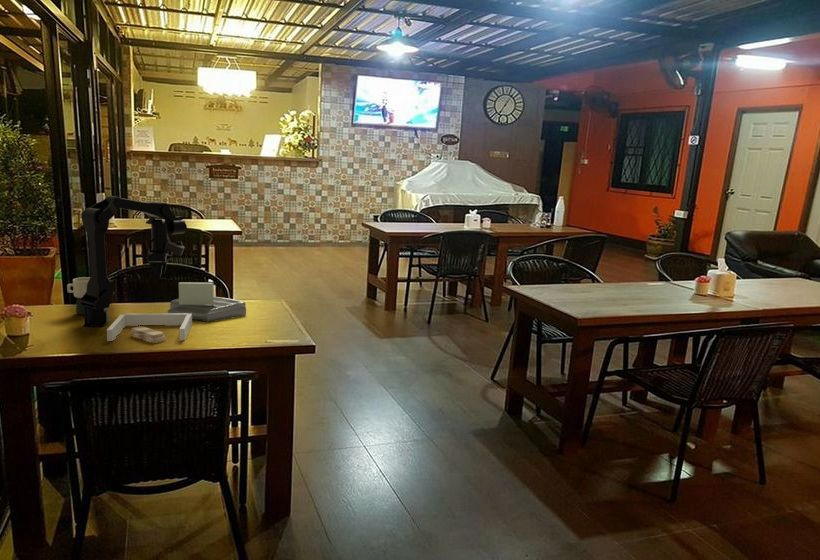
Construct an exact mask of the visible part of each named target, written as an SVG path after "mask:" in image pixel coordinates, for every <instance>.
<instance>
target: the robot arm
mask: <svg viewBox="0 0 820 560" xmlns="http://www.w3.org/2000/svg"><path fill="white" fill-rule="evenodd" d="M119 209H121V210H122V209H123V210H128V211H134V212H140V213H143V214H145V215H147V216H150V217H149V219H148V220H146V221H145V224H147V225H150V228H151V232H150V233H151V238H150V242H151V249H150V253H149V254H147V256H146V262H147V263H148V264H149V266H150V268H151V270H152V271H153V273H154V275H155V277H156V279H158V280H160V279H161V278H162V277H161V276H162V275H165V273H166V270H167V266H168V265H167V264H168V261H169V259H171V257H172V256H173V254H174V255H176V256H179V257H180V256H182V255H183V253H184V250H185V248H186V247H185V246H184V245H183V242H182V241H180V240H177V242H176V243H175V242H172V241H171V238H170V237H169V235H172V236H173V235H178V234H179V235H180V234H181V235H182V234H185V233H186V232H187V230H188V225H187V223H186V221H185V220H184V219H183V218H184V217H183V215H176V216H175V214H174V213H173V211H172V210H171V207H170V205H169V204H168V203H167V202H161V201H140V200H136V199H135V200H134V199H130V198H129V199H128V198H124V197H123V198H122V197H120V196H115V195H109V196H106V197H105V198H104V199H102V200H101V201H99V202H96V203H95V204H92V205H91V206H90V207H87V208H85V209H84V210H83V211H82V212H81V215H80V218H81V222H82V225H83V228H84V230H85V231H86V233H87V237H88V247H89V248H88V250H89V252H88V253H89V265H90V266H89V267H90V268H89V269H90V279H89V281H88V283H87V290H86V293H85V294H84V295H83V297H82V298H81V299H80V300H79V302H80V304H81V306H85V307H84V314H83V315H84V323H83V327H104V326H106V324H108V322H109V321H110V319H109V310H108V308H109V307H110V304H111V302H112V299H113V298H114V295H115V293H116V290H115V281H114V280H111V279H109V277H108V271H107V269H108V268H107V256H106V255H107V253H106V238H105V237H106V233H107V231H108V229H109V225H110V224H109V222H110V220H111V219H112V218H113V217H114V216H115V215H116V214H117V212H118V210H119Z"/></svg>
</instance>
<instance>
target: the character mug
mask: <svg viewBox="0 0 820 560" xmlns="http://www.w3.org/2000/svg"><path fill="white" fill-rule="evenodd" d="M90 277H91V276H90ZM90 277H89V276H88V277H86V276H82V277H76V278H73V279H72V283H68V284H67V285H66V290H67V293H69V294H73V297H75V298H76V305H75V313H76V314H79V315H84V307H85V306H81V304H80V302H79V300H80V299H81V298H82V297H83V295H84V294H85V293H86V290H87V283H88V281H89V279H90ZM71 287H72V289H73V290H72V289H71Z"/></svg>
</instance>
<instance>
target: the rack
mask: <svg viewBox="0 0 820 560" xmlns="http://www.w3.org/2000/svg"><path fill="white" fill-rule="evenodd" d="M138 325H139V326H140V325H165V326H180V327H179V341H180V342H184V341H183V340H185V341H186V339H187V337H188V335H189V332H190V330H191V328H192V326H191V325H193V320H192V313H168V312H166V313H165V312H164V313H163V312H162V313H161V312H160V313H159V312H158V313H153V312H152V313H149V312H148V313H144V312H143V313H121V314H120V315H119V316H118V317H117V318H116V319H115V320H114V321H113V322H112V323H111V325H110V326H108V328H107V329H106V341H113V340H114V341H115V340H116V338H117V337H118V336H119V335H118V334H121V332H122V331H124V329H125V327H135V326H136V327H139V326H138ZM123 328H124V329H123ZM187 334H188V335H187ZM117 335H118V336H117ZM116 336H117V337H116ZM186 336H187V337H186ZM114 341H113V342H114Z"/></svg>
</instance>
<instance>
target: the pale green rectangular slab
mask: <svg viewBox="0 0 820 560" xmlns="http://www.w3.org/2000/svg"><path fill="white" fill-rule="evenodd" d="M214 290H215V289H214V282H194V281H193V282H191V281H189V282H183V281H182V282H178V298H179V305H213V304H214V297H215V296H214V295H215V294H214Z"/></svg>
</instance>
